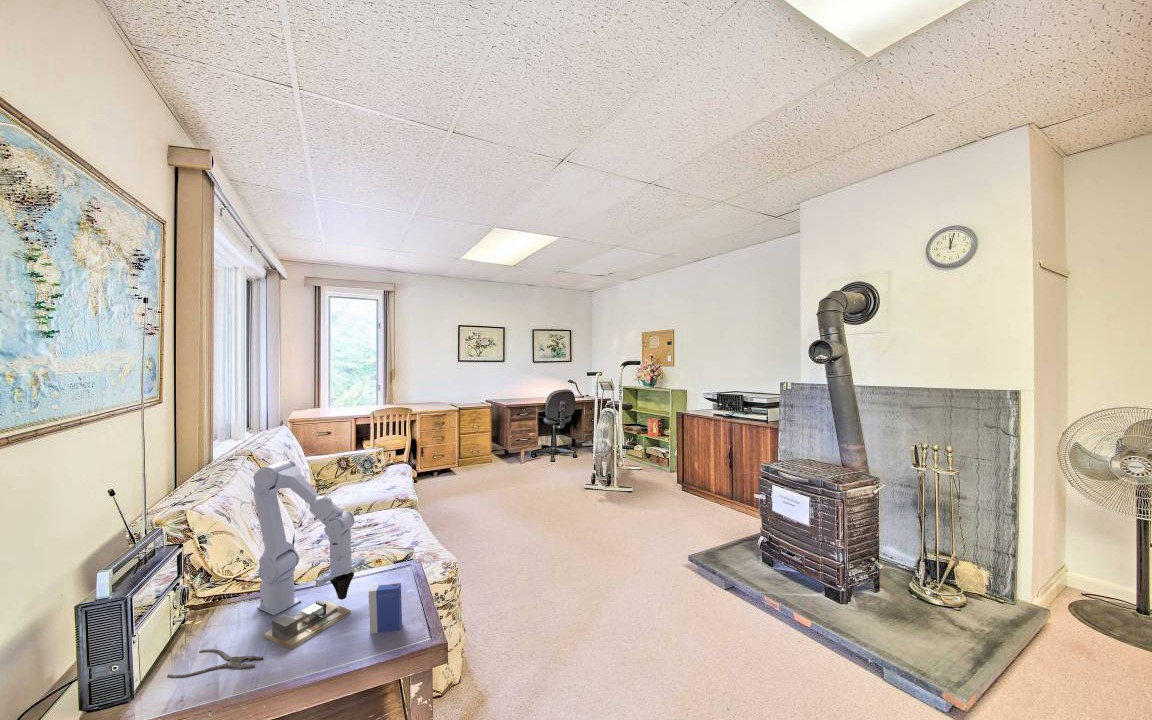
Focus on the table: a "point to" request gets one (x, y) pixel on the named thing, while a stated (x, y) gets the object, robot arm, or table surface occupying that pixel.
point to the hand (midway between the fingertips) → (342, 598)
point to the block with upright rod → (314, 612)
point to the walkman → (385, 608)
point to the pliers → (232, 663)
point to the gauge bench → (303, 626)
